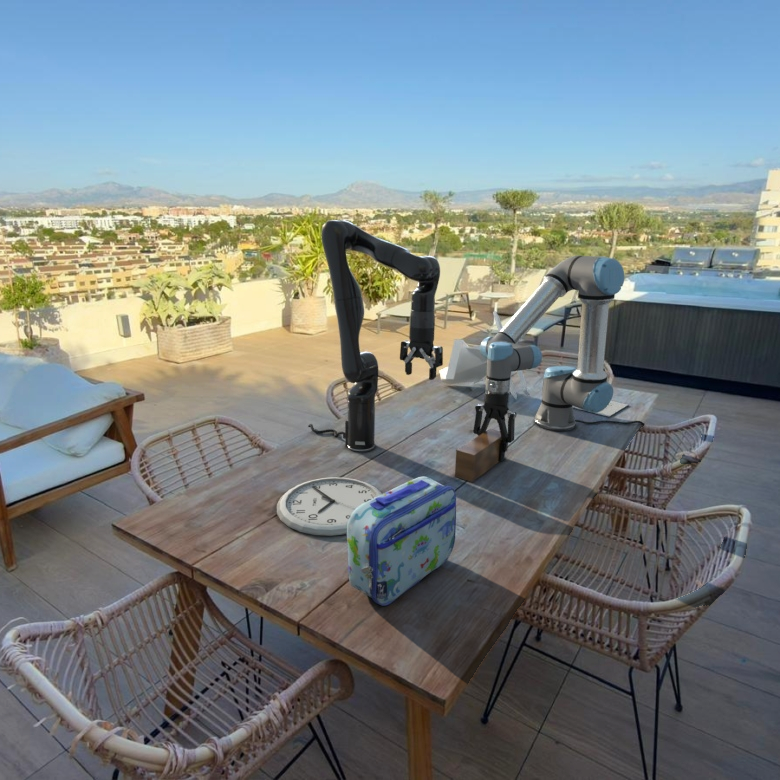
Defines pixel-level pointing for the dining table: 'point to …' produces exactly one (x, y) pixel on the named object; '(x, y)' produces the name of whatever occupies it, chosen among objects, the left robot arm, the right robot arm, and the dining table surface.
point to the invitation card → (610, 408)
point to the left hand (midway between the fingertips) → (420, 376)
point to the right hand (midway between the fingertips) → (491, 457)
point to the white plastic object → (472, 365)
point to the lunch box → (400, 538)
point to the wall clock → (324, 504)
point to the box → (478, 455)
